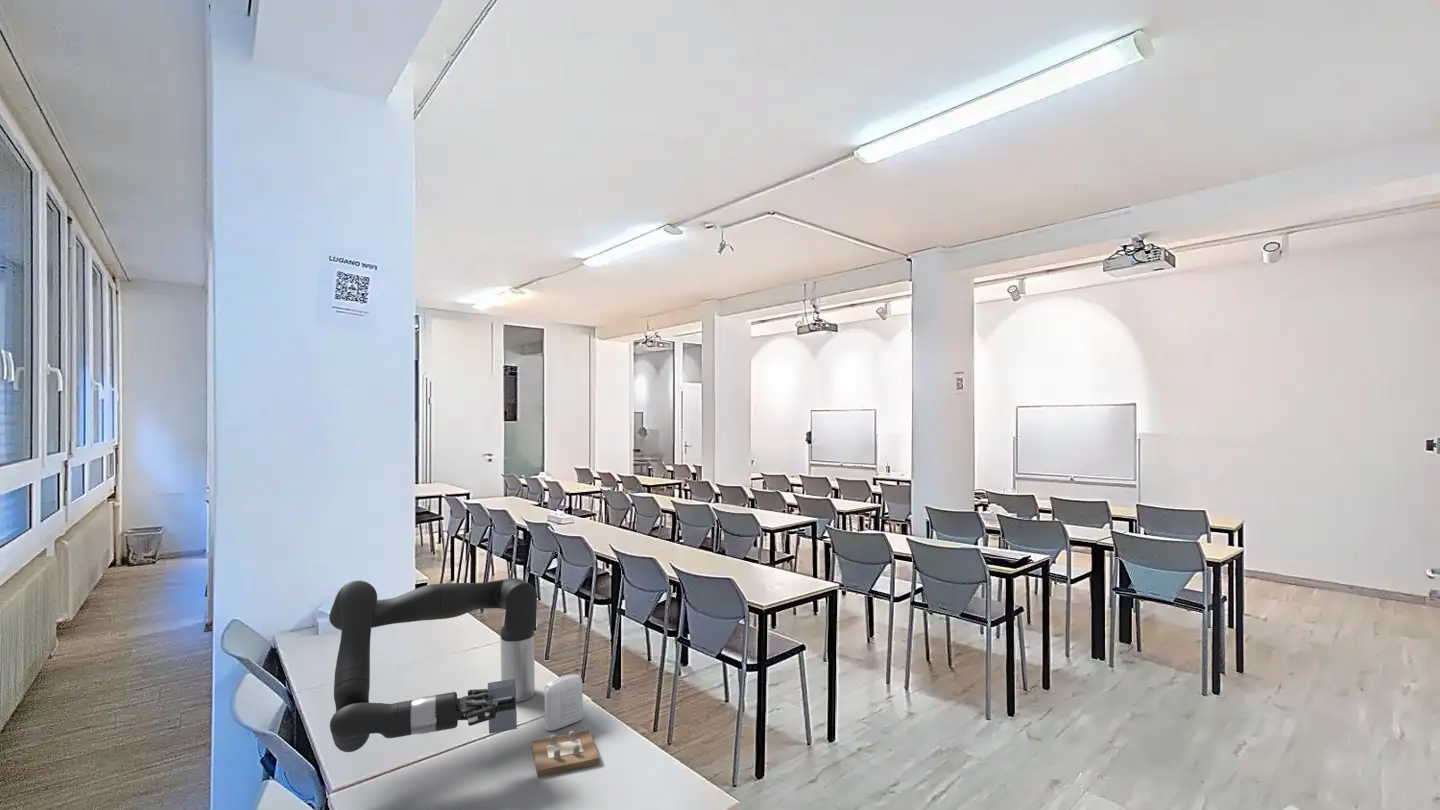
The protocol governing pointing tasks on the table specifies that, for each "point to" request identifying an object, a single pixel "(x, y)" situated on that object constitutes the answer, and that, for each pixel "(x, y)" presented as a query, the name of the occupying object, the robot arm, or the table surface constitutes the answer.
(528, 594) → the robot arm
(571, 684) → the photo printer
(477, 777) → the table surface
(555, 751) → the pin tray
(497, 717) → the block
